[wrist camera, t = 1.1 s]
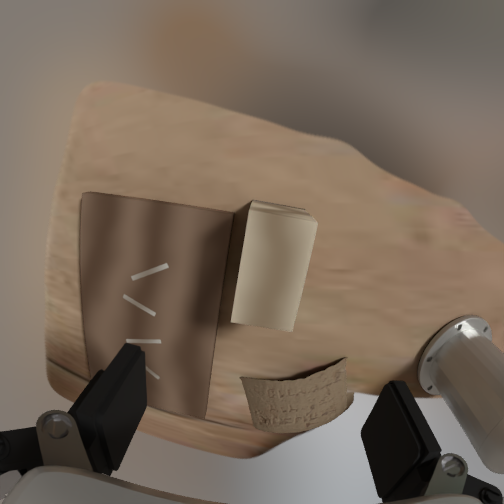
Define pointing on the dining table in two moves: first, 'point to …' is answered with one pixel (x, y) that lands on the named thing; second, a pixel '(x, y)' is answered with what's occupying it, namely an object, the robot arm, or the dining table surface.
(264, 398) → the clay tablet
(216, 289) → the walnut board
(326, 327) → the dining table surface
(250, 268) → the cream carton
